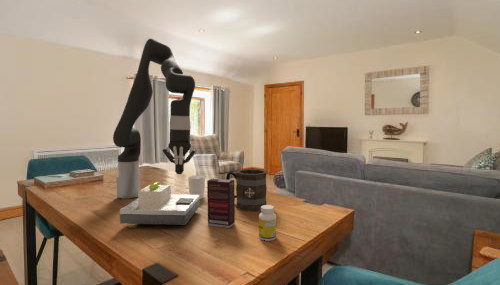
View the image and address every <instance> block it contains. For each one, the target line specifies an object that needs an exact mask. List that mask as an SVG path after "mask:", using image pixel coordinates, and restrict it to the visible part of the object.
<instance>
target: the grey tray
mask: <svg viewBox="0 0 500 285" xmlns="http://www.w3.org/2000/svg"><path fill="white" fill-rule="evenodd" d="M200 204H201V203H200V199H199V200H198V201H197V202H196V203H195V204H194V206H193V207H192V208H191V209H190V210H189V211H188V213H187V214H186V215H145V214H120V213H119V218H120V219H119V222H120V224H126V226H127V228H128V229H136V228H138V226H139V227H140V226H141V225H175V226H176V225H181V226H182V225H183V226H185V225H186V224H187V223H188V222H189V221H191V220H192V217H193V215H194V214H196V212H197V210H198V209H199V208H200V206H201V205H200ZM135 227H136V228H135Z"/></svg>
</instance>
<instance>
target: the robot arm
mask: <svg viewBox="0 0 500 285" xmlns="http://www.w3.org/2000/svg"><path fill="white" fill-rule="evenodd" d="M151 62H152V63H154V64H157V65H160V70H161V73H162V75H163V76H164V78H165V88H166V90H167V91H168V92H170V93H172V94H180V95H181V94H182V97H181V98H180V99H173V100H172V101H171V102H170V116H169V117H170V118H169V142H168V146H167V147H165V148H163V149H162V152H163V154H164V155H165V156H166V158H167V159H168V160H169V162H170V163H173V164H174V165H175V166H174V171H175V173H176V175H182V174H183V173H184V171H185V164H187V163H189V162H190V160H192V158H193V157H194V156H195V155H196V153H197V149H194V148H193V147H192V144H191V114H190V112H191V103H192V98H193V96H194V92H195V89H196V82H195V81H196V80H195V79H194V77H193V76H191V75H188V74H184V72H183V70H182V69H181V67H180V66H179V65H178V64H177V62H176V59H175V57H174V54H173V51H172V49H171V48H170V46H168V45H167V44H165V43H163V42H161V41H158V40H156V39H154V38H149V39H147V40H146V41H145V43H144V46H143V50H142V53H141V56H140V60H139V65H138V69H137V73H136V75H135V77H134V80H133V83H132V86H131V88H130V92H129V94H128V97H127V100H126V103H125V106H124V109H123V110H122V111H123V112H122V114H121V116H120V118H119V121H118V123H117V125H116V127H115V129H114V132H113V135H112V141H113V144H114V146H116V147H117V148H123V150H122V152H121V153H120V154H119V155H118V156H117V176H118V177H116V178H115V179H116V198H117V199H118V198H119V199H124V200H125V199H134V198H138V191H140V190H141V188H140V155H141V150H142V149H141V146H142V145H141V144H142V139H141V138H142V137H141V133H140V131H139V129H137V128H136V127H134V125H135V123H136V121H137V120H138V119H139V118H140V117H141V116H142V115H143V114H144V112H145V111H146V110H147V108H148V107H149V105H150V104H151V103H150V102H151V99H152V97H153V95H154V94H153V85H152V81H151V78H150V77H151V76H150V72H149V71H150V64H151ZM188 153H189V154H188ZM187 154H188V155H187ZM186 155H187V157H186Z"/></svg>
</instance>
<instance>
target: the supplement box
mask: <svg viewBox="0 0 500 285" xmlns="http://www.w3.org/2000/svg"><path fill="white" fill-rule="evenodd" d="M206 184H207V186H206V188H207V192H206V193H207V226H210V227H211V226H212V227H216V228H217V227H220V228H226V229H230V228H232V227H233V226H234V225H235V224H236V217H235V216H236V214H235V212H236V210H235V208H236V207H235V206H236V205H235V199H236V198H235V197H234V196H235V179H230V180H229V179H226V178H214V177H213V178H211V179H209V180H207V181H206Z"/></svg>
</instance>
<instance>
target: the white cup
mask: <svg viewBox="0 0 500 285" xmlns="http://www.w3.org/2000/svg"><path fill="white" fill-rule="evenodd" d="M187 180H188V192H189V193H188V194H189V195H199V200H201V199H204V198H205V191H206V190H205V188H206V186H205V185H206V183H205V182H206V176H205V175H199V174H198V175H196V174H195V175H190V176H188V178H187Z"/></svg>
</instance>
